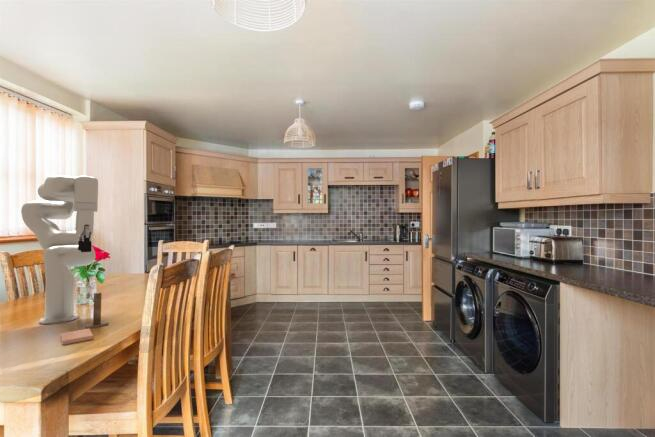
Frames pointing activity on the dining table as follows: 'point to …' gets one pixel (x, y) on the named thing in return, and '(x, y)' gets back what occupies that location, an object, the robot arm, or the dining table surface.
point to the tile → (76, 336)
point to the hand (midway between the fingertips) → (84, 251)
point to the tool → (97, 313)
